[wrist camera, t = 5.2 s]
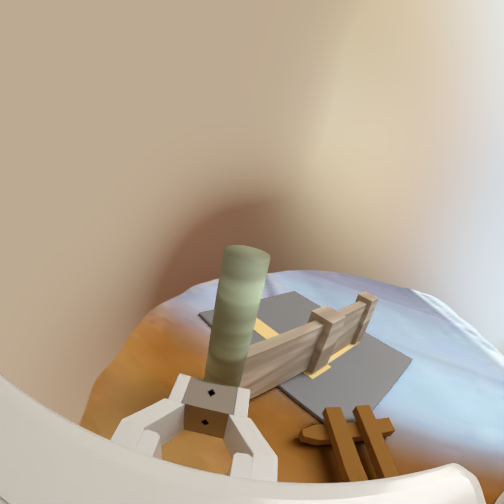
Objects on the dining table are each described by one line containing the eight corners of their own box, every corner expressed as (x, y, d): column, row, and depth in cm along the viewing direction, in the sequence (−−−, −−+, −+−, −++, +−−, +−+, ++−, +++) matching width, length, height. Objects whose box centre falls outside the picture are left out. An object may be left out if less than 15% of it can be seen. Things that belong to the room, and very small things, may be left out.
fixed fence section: (361, 340, 39) (378, 297, 37) (328, 362, 32) (348, 313, 30) (348, 333, 40) (365, 291, 38) (314, 353, 34) (332, 304, 32)
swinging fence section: (326, 364, 32) (369, 249, 27) (212, 425, 20) (244, 263, 16) (309, 352, 34) (346, 239, 29) (194, 403, 22) (215, 246, 18)
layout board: (411, 361, 35) (412, 358, 35) (345, 438, 21) (347, 436, 21) (293, 293, 53) (294, 290, 53) (199, 315, 39) (199, 312, 39)
